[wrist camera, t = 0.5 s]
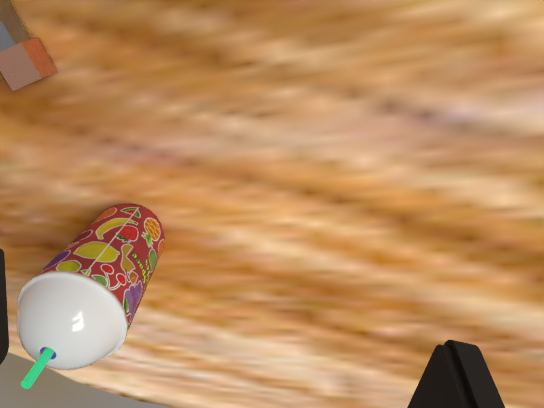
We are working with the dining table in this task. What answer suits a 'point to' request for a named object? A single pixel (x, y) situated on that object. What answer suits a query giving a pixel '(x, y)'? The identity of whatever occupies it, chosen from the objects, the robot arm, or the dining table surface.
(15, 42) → the tongs moving jaw
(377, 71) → the dining table surface
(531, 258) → the dining table surface
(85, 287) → the smoothie
